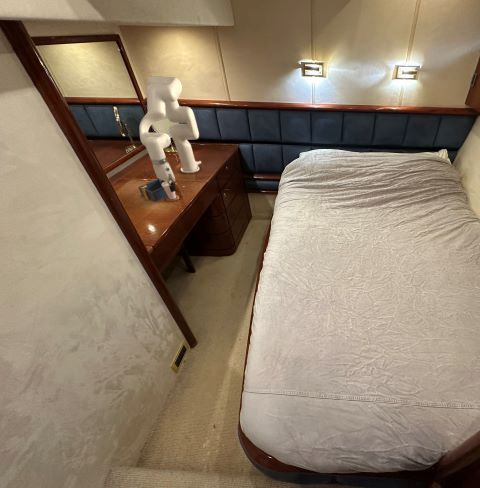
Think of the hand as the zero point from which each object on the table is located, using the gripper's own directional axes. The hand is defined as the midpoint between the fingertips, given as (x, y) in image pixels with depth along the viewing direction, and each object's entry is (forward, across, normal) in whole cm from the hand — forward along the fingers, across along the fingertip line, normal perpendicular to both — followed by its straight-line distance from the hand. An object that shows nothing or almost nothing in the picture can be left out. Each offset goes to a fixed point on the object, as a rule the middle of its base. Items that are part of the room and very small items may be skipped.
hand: (169, 189), depth 157 cm
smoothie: (+6, 0, 0) cm, 6 cm away
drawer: (+6, +12, 0) cm, 13 cm away
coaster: (+6, 0, 0) cm, 6 cm away
